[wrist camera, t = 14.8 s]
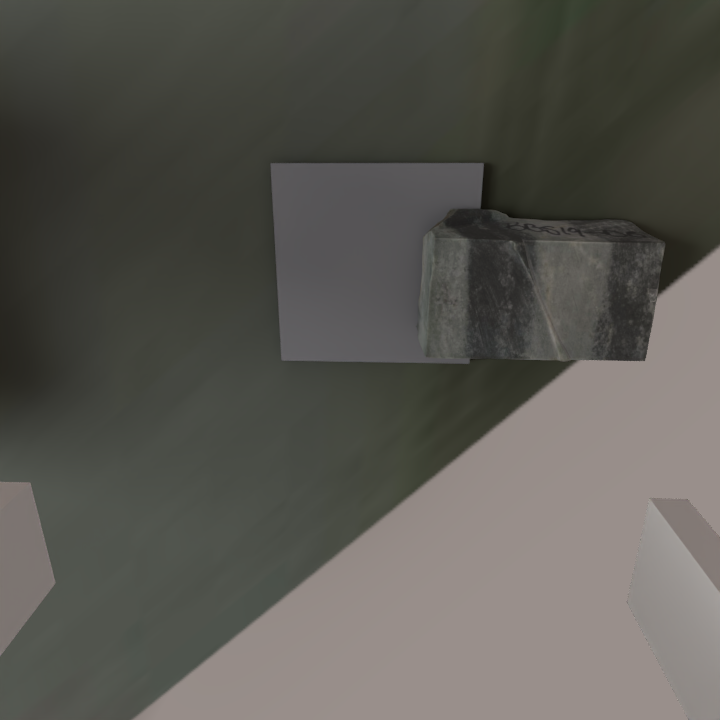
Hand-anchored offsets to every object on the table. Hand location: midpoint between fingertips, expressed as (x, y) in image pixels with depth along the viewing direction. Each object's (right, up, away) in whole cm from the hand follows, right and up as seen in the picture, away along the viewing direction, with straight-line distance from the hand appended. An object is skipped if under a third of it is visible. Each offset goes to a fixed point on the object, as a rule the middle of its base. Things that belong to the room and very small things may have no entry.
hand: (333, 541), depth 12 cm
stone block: (+4, +10, +26) cm, 29 cm away
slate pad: (+2, +11, +28) cm, 30 cm away
